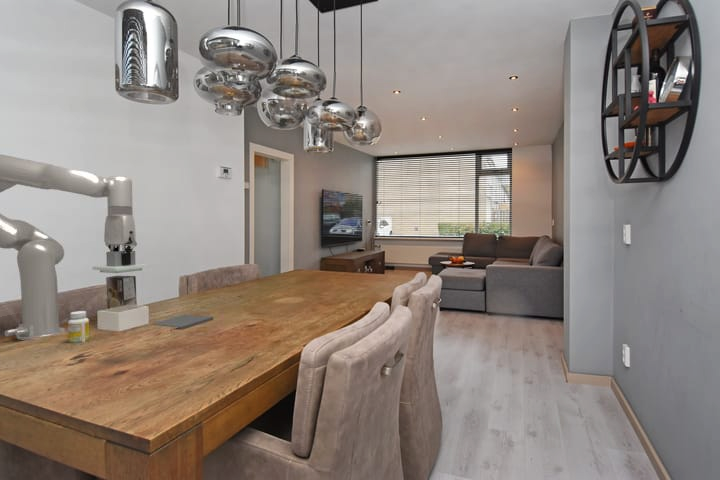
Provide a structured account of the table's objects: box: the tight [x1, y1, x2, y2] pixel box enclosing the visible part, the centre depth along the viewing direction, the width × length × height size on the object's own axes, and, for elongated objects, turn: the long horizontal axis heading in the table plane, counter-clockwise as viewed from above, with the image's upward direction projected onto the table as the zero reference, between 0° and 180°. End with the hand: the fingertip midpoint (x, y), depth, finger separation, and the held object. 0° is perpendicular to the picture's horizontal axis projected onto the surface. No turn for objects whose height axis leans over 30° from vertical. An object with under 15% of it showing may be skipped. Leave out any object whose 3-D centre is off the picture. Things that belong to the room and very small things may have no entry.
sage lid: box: [92, 250, 150, 274], centre depth 143 cm, size 13×11×7 cm
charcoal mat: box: [150, 313, 214, 331], centre depth 152 cm, size 16×14×1 cm
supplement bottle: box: [67, 310, 90, 344], centre depth 126 cm, size 5×5×10 cm
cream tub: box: [96, 304, 150, 332], centre depth 144 cm, size 12×10×7 cm
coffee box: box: [105, 275, 138, 309], centre depth 164 cm, size 9×6×16 cm
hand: (121, 263), depth 143 cm, fingers closed on sage lid, 4 cm apart
